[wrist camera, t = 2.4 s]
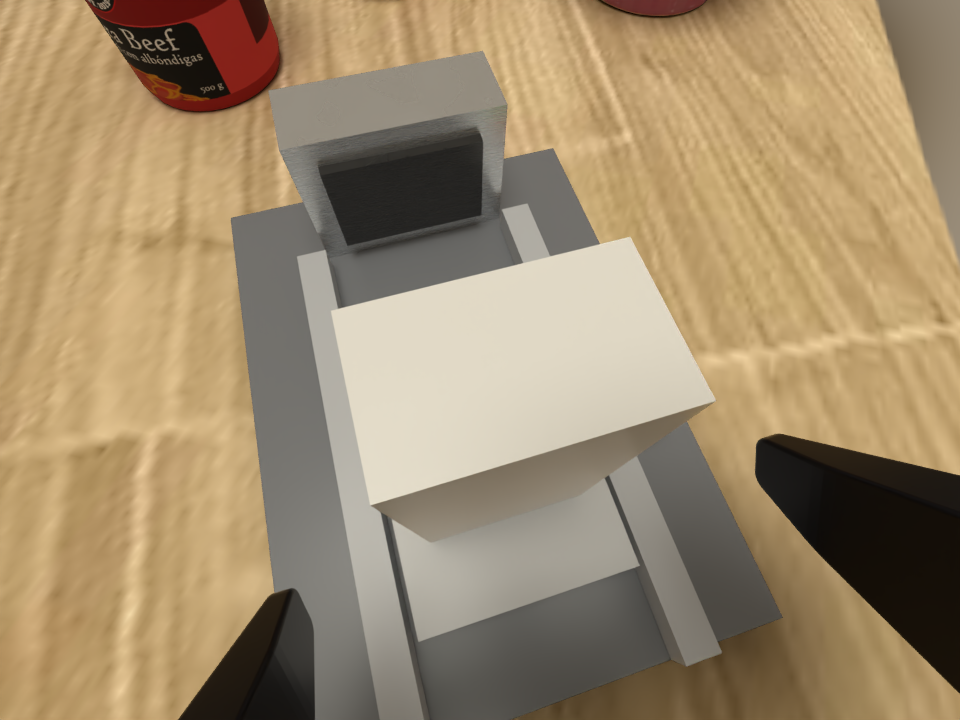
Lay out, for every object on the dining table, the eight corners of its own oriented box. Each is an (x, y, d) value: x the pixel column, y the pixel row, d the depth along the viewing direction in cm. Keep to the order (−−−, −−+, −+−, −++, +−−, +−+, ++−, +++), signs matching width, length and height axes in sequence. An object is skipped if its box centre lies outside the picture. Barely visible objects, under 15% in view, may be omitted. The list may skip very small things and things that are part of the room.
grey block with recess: (501, 224, 22) (511, 111, 17) (330, 265, 21) (280, 159, 16) (480, 171, 24) (482, 51, 18) (318, 207, 22) (268, 90, 17)
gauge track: (763, 614, 17) (806, 621, 15) (311, 782, 15) (283, 818, 13) (549, 166, 25) (556, 128, 23) (242, 234, 23) (218, 199, 21)
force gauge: (706, 537, 17) (1079, 488, 6) (423, 634, 15) (324, 766, 5) (610, 328, 20) (755, 74, 10) (370, 394, 18) (244, 180, 8)
